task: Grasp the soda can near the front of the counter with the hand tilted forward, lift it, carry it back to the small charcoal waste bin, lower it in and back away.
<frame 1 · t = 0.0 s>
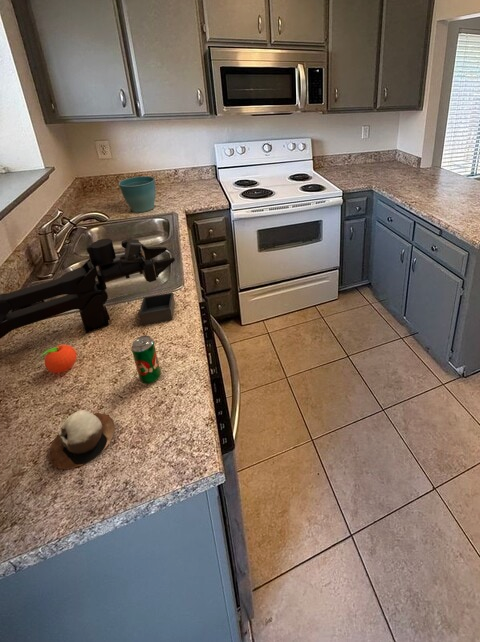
hand: (170, 253, 121), 17 cm above the counter, tool horizontal, fingers open, 9 cm apart
hat: (83, 441, 78), on the counter
flower pot: (142, 209, 204), on the counter
waste bin: (159, 313, 117), on the counter
clementine: (62, 369, 96), on the counter
soda can: (150, 377, 93), on the counter
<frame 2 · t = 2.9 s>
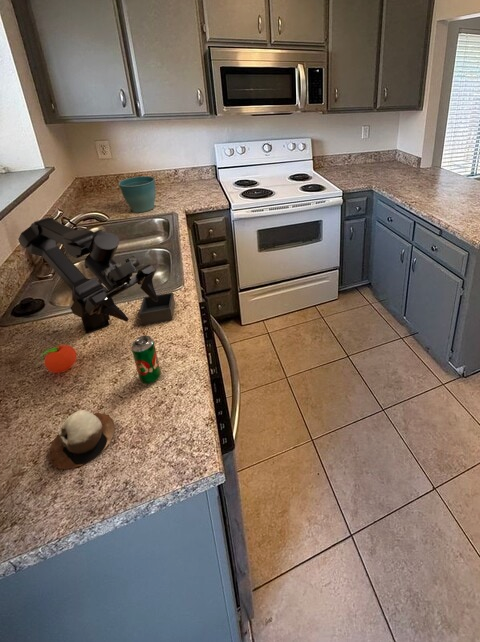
hand: (143, 310, 97), 14 cm above the counter, tool tilted 50°, fingers open, 9 cm apart
nothing on the counter moved.
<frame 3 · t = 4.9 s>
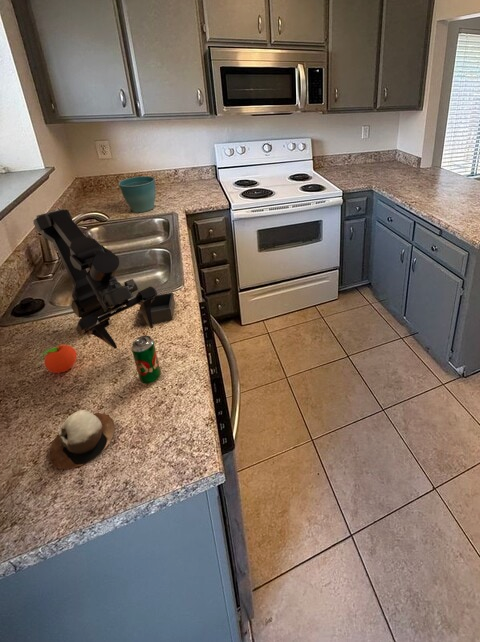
hand: (134, 337, 92), 11 cm above the counter, tool tilted 45°, fingers open, 9 cm apart
nothing on the counter moved.
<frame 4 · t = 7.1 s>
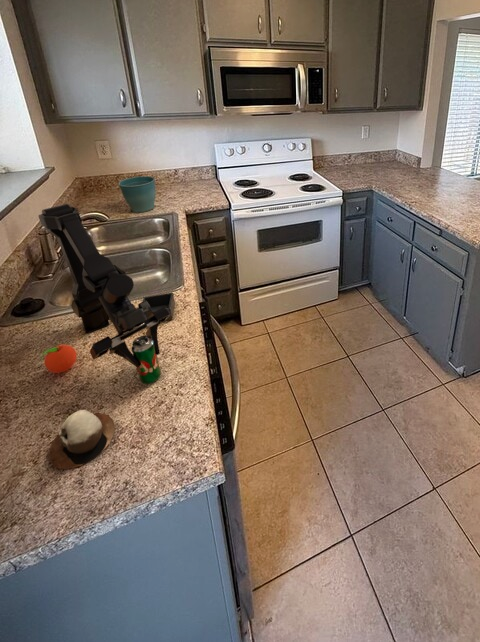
hand: (148, 360, 90), 7 cm above the counter, tool tilted 45°, fingers closed on soda can, 5 cm apart
soda can: (151, 377, 93), on the counter, touching gripper
everything else where it was.
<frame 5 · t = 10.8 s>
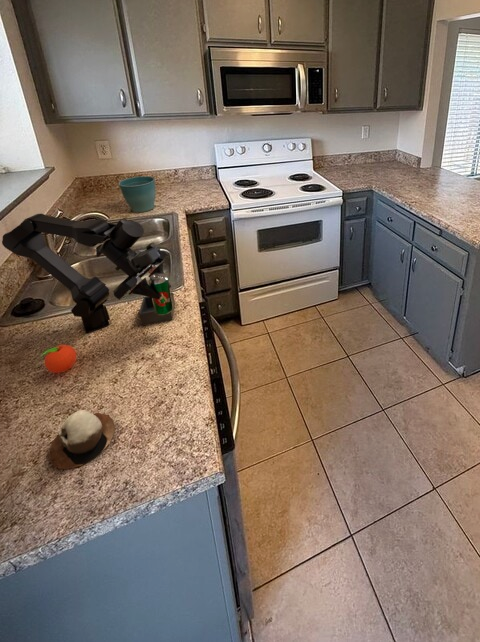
hand: (165, 292, 104), 14 cm above the counter, tool tilted 45°, fingers closed on soda can, 5 cm apart
soda can: (164, 311, 107), point 8 cm above the counter, touching gripper
everything else where it was.
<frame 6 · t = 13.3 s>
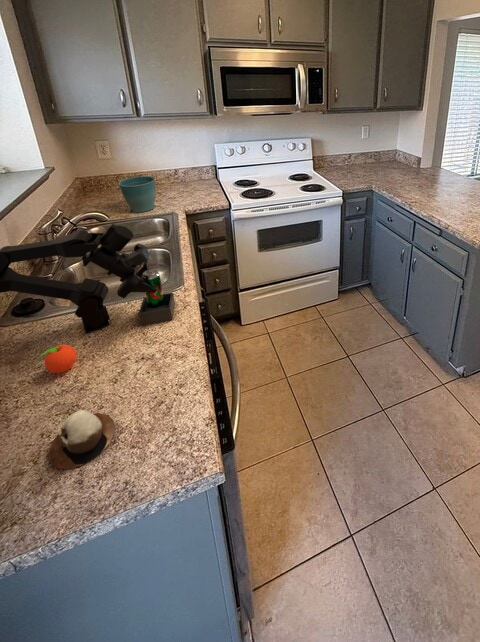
hand: (157, 286, 114), 10 cm above the counter, tool tilted 45°, fingers closed on soda can, 5 cm apart
soda can: (156, 305, 116), point 4 cm above the counter, touching gripper
everything else where it was.
when the fingers open (7 cm above the counter, at t = 14.8 s): soda can stays where it is, resting on waste bin.
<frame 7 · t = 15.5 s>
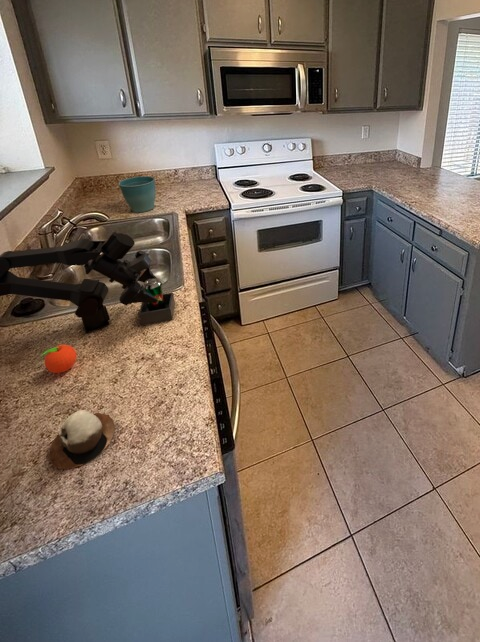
hand: (159, 293, 115), 8 cm above the counter, tool tilted 45°, fingers open, 9 cm apart
soda can: (158, 313, 117), resting on waste bin
everything else where it was.
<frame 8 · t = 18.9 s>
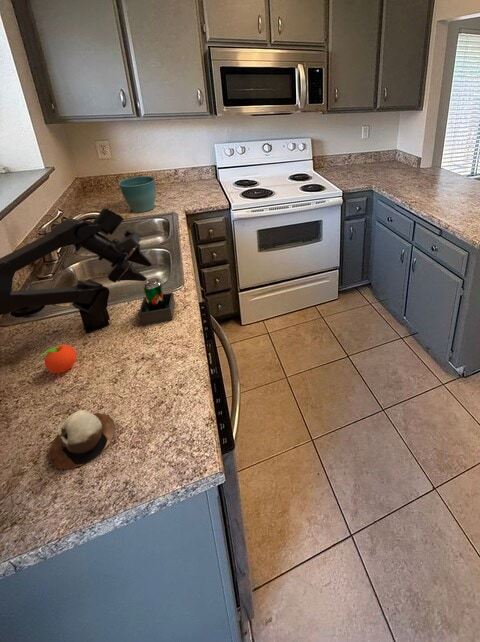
hand: (148, 272, 116), 14 cm above the counter, tool tilted 45°, fingers open, 9 cm apart
nothing on the counter moved.
at the end: soda can inside the target area in the waste bin (0.1 cm from its centre), point 0.2 cm above the waste bin's base; soda can tilted 0° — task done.
